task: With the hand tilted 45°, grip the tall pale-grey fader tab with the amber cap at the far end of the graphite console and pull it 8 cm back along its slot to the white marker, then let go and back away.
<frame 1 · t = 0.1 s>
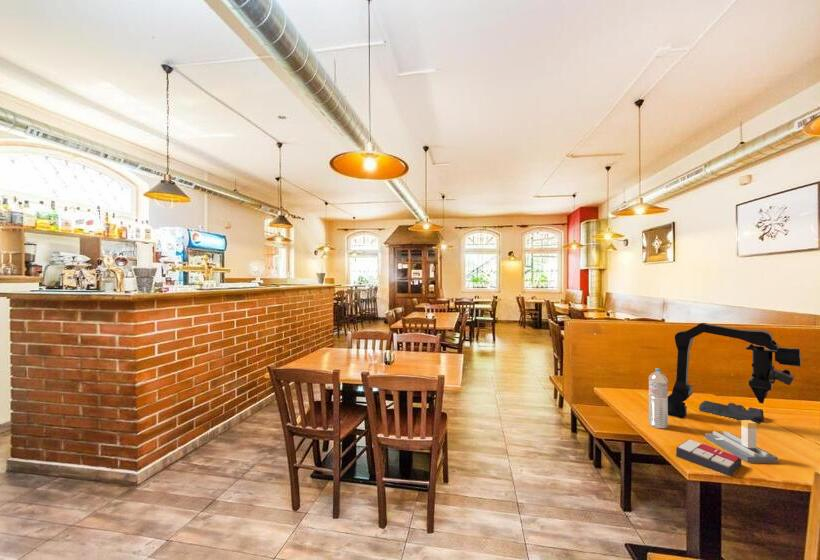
hand: (762, 400, 137), 15 cm above the table, fingers open, 9 cm apart
dark slate chunk: (730, 414, 160), on the table
water bottle: (658, 426, 148), on the table
fader tab: (748, 435, 123), point 7 cm above the table, slide at 0.0 cm
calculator: (707, 462, 120), on the table
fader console: (738, 449, 128), on the table
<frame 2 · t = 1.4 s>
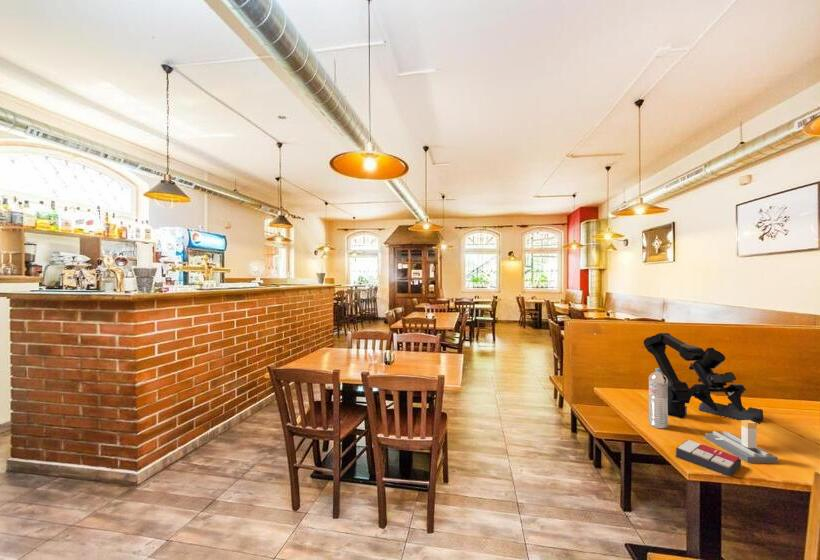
hand: (729, 411, 131), 13 cm above the table, fingers open, 9 cm apart
nothing on the table moved.
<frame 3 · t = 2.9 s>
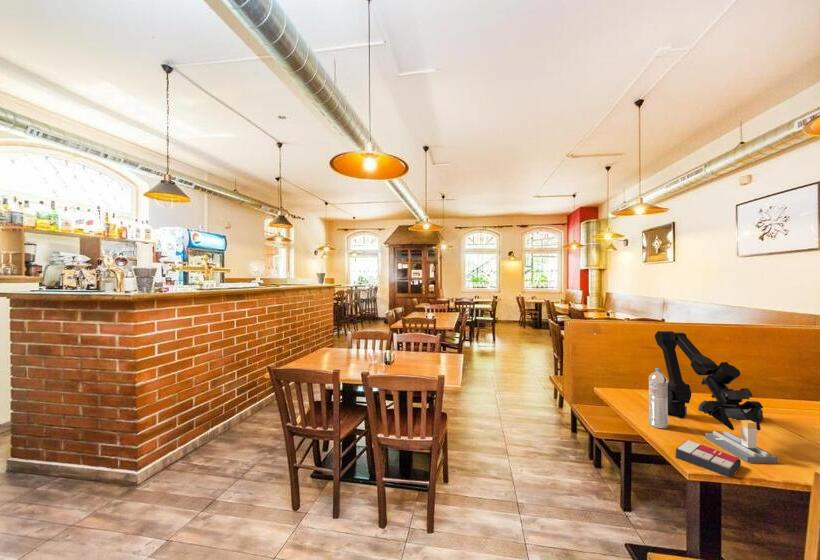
hand: (746, 429, 124), 9 cm above the table, fingers open, 9 cm apart
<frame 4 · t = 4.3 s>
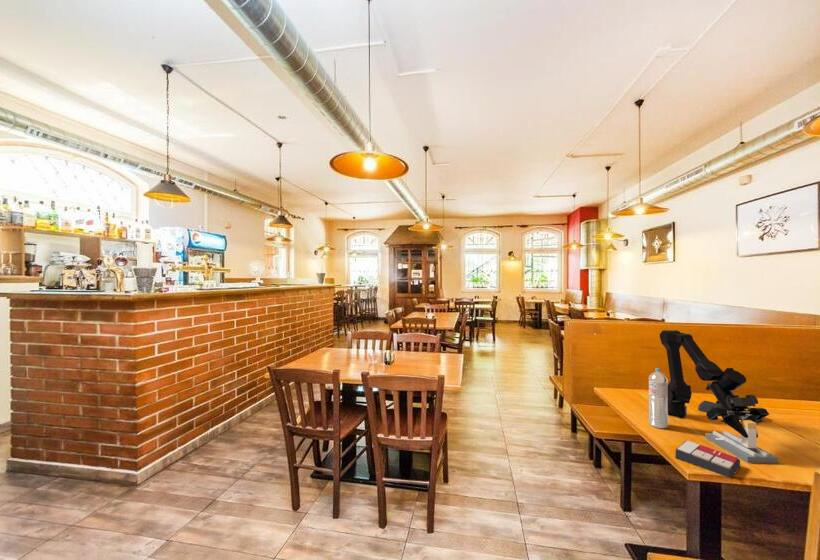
hand: (752, 437, 122), 7 cm above the table, fingers closed on fader tab, 3 cm apart
fader tab: (748, 435, 123), point 7 cm above the table, slide at 0.0 cm, touching gripper
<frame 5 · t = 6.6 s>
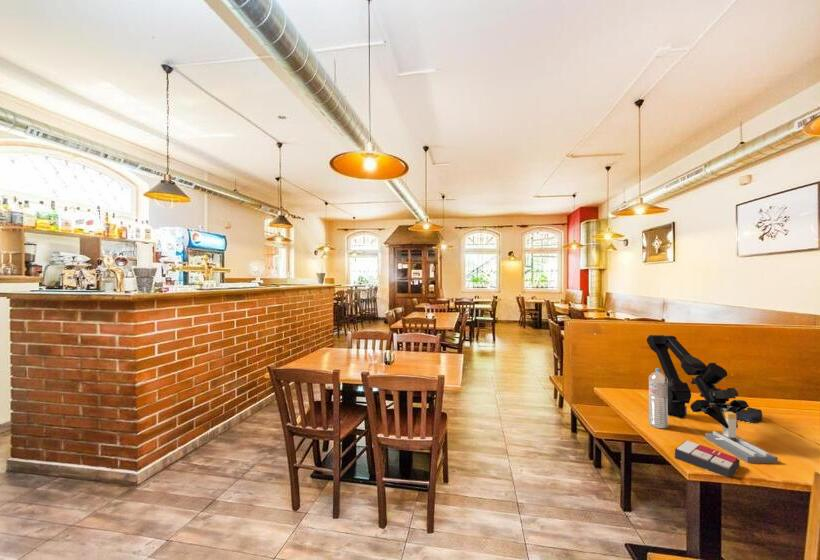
hand: (732, 427, 130), 7 cm above the table, fingers closed on fader tab, 3 cm apart
fader tab: (729, 425, 131), point 7 cm above the table, slide at 7.9 cm, touching gripper
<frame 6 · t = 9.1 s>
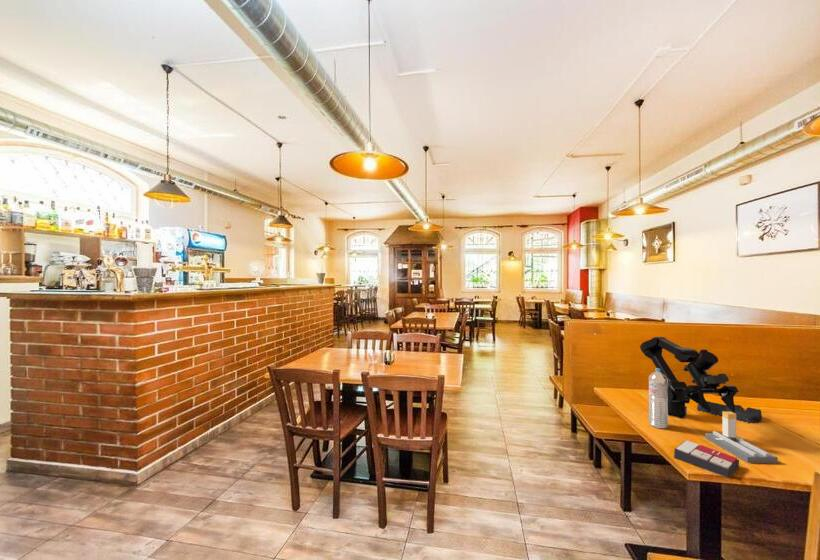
hand: (722, 411, 134), 11 cm above the table, fingers open, 9 cm apart
fader tab: (729, 425, 131), point 7 cm above the table, slide at 8.0 cm
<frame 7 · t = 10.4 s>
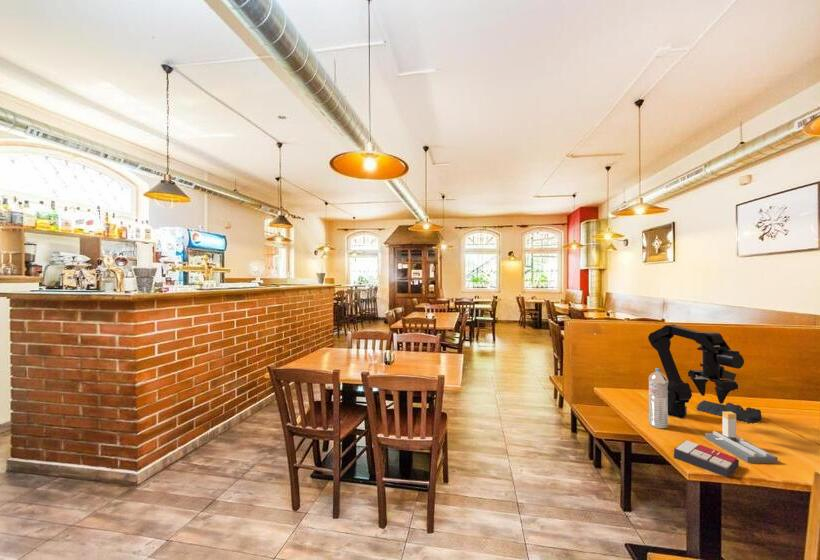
hand: (711, 399, 143), 13 cm above the table, fingers open, 9 cm apart
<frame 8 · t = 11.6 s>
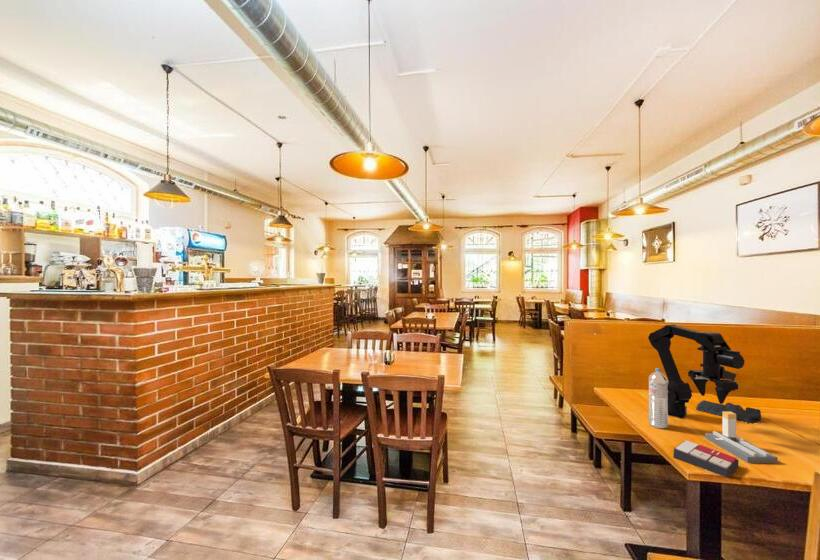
hand: (711, 399, 143), 13 cm above the table, fingers open, 9 cm apart
at the end: fader tab slide at 8.0 cm; the gripper is holding nothing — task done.
